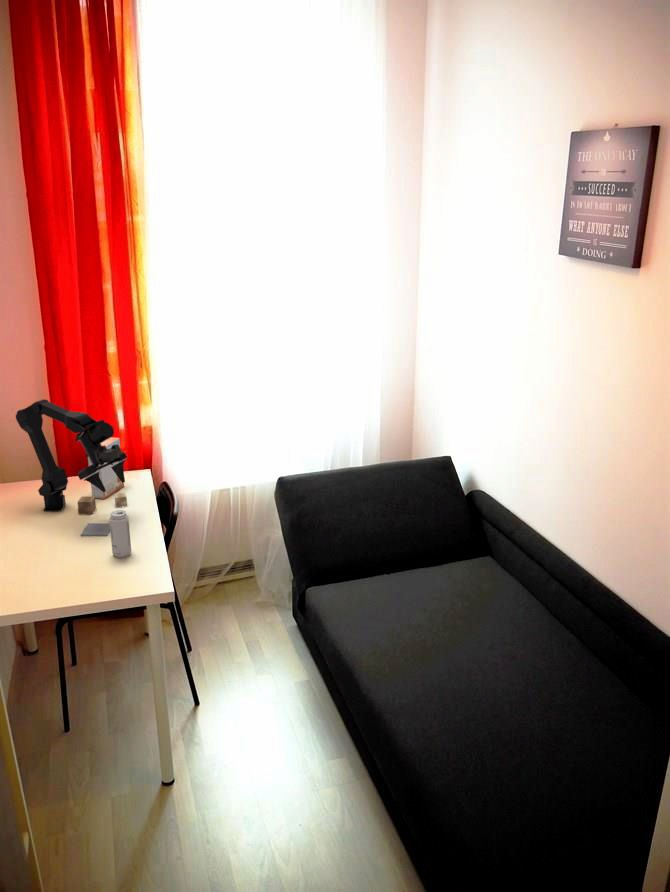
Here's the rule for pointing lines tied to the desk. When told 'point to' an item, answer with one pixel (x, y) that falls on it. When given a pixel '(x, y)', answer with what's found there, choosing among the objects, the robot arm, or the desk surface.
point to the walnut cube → (86, 505)
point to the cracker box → (107, 475)
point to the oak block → (120, 499)
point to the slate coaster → (96, 529)
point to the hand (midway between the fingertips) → (114, 487)
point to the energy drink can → (120, 534)
